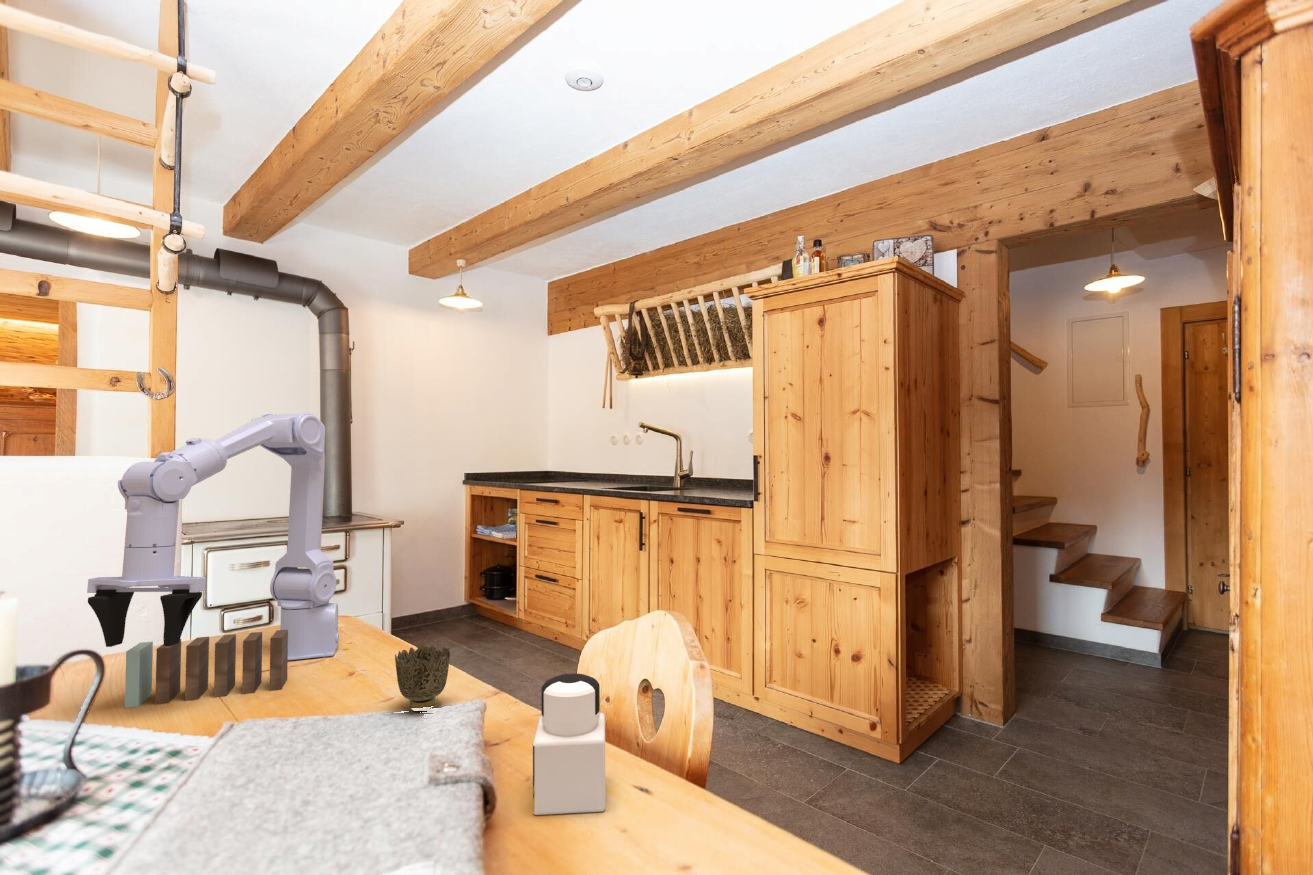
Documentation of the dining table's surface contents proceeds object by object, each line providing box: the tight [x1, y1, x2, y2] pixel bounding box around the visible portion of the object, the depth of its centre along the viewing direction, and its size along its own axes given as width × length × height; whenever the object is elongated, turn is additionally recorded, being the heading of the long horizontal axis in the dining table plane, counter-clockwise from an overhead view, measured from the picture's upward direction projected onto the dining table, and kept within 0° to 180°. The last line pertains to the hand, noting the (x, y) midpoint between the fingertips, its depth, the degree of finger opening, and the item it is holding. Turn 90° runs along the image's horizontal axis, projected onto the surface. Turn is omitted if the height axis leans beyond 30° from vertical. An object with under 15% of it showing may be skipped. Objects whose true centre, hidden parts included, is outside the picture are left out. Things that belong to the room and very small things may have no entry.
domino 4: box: [213, 633, 237, 699], centre depth 98 cm, size 2×5×8 cm, turn 21°
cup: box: [394, 644, 452, 709], centre depth 90 cm, size 8×7×8 cm
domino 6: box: [269, 629, 289, 692], centre depth 101 cm, size 2×5×8 cm, turn 21°
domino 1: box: [124, 641, 154, 709], centre depth 94 cm, size 2×5×8 cm, turn 21°
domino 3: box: [184, 636, 210, 702], centre depth 97 cm, size 2×5×8 cm, turn 21°
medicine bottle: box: [532, 673, 607, 816], centre depth 67 cm, size 7×7×12 cm
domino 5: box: [241, 631, 263, 695], centre depth 99 cm, size 2×5×8 cm, turn 21°
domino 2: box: [154, 638, 182, 705], centre depth 95 cm, size 2×5×8 cm, turn 21°
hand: (142, 644), depth 89 cm, fingers open, 7 cm apart
